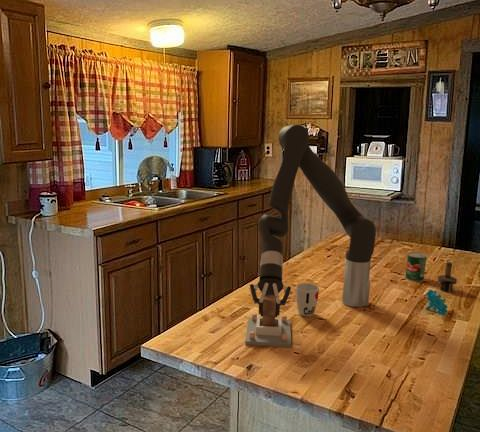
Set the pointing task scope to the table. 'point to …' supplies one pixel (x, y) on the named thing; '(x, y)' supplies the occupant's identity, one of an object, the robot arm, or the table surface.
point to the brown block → (269, 310)
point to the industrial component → (447, 279)
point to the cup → (306, 298)
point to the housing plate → (268, 332)
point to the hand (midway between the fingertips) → (269, 315)
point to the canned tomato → (415, 266)
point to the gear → (436, 302)
